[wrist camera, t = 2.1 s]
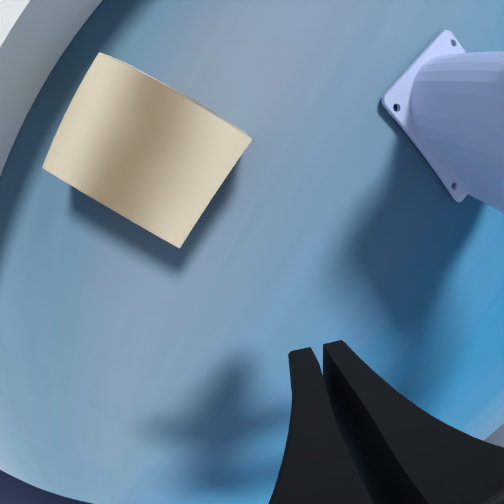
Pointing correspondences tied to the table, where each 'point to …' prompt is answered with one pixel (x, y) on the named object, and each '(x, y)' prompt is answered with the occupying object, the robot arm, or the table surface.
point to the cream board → (32, 54)
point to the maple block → (143, 148)
